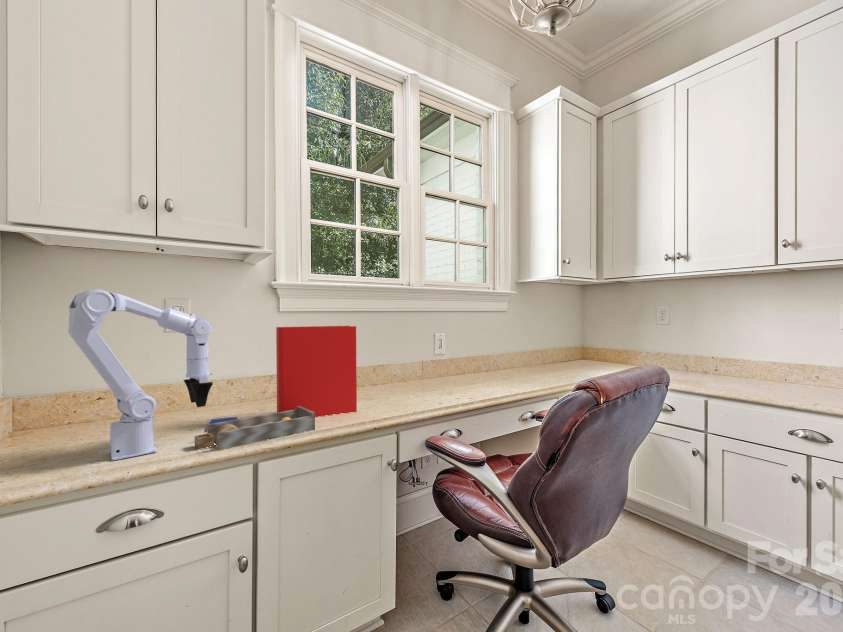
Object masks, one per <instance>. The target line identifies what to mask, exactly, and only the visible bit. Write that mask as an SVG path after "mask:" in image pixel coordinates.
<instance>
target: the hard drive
mask: <svg viewBox="0 0 843 632" xmlns="http://www.w3.org/2000/svg"><path fill="white" fill-rule="evenodd" d="M237 419H238V416H230V417H219V418H212V419H211V420H209V424H213V423H219V422H225V421H231V420H237ZM205 431H207V428H206V430H205Z"/></svg>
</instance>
